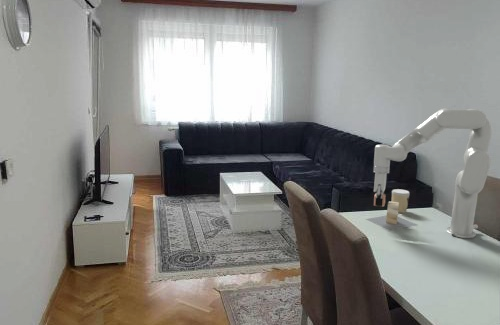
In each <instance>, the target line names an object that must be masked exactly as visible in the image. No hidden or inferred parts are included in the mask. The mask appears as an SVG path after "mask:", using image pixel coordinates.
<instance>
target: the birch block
mask: <svg viewBox="0 0 500 325" xmlns="http://www.w3.org/2000/svg"><path fill="white" fill-rule="evenodd" d="M398 209H399V203H398V202H392V201H388V202H387V210H386V214H387V213H388V214H395V215H399V212H398Z"/></svg>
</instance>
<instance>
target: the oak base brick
mask: <svg viewBox="0 0 500 325" xmlns="http://www.w3.org/2000/svg"><path fill="white" fill-rule="evenodd" d="M398 215H399V214H398ZM398 215H395V214H388V213H387V212H386V216H387V217H386V223H391V224H397V217H399V216H398Z"/></svg>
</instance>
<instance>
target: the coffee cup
mask: <svg viewBox="0 0 500 325" xmlns="http://www.w3.org/2000/svg"><path fill="white" fill-rule="evenodd" d="M410 193H411V192H410V191H409V190H406V189H402V188H401V189H399V188H397V189H392V190H391V202H398V203H399V209H398V213H400V214H401V213H406V212H407V210H408V205H409V199H410Z"/></svg>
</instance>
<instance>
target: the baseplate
mask: <svg viewBox="0 0 500 325" xmlns="http://www.w3.org/2000/svg"><path fill="white" fill-rule="evenodd" d="M386 217H387V215H383V216H382V215H381V216H377V217H376V216H375V217H370V218H365V220H366V221H369V222H371V223H373V224H375V225H378V226H379V227H382V228H383V229H385V230H388V231H394V230H401V229H405V228H410V227H415V226H418V224H417V223H414V222H413V221H411V220H410V221H409V220H408V219H405V218H402V217H399V216H398V217H397V224H391V223H386Z"/></svg>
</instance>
